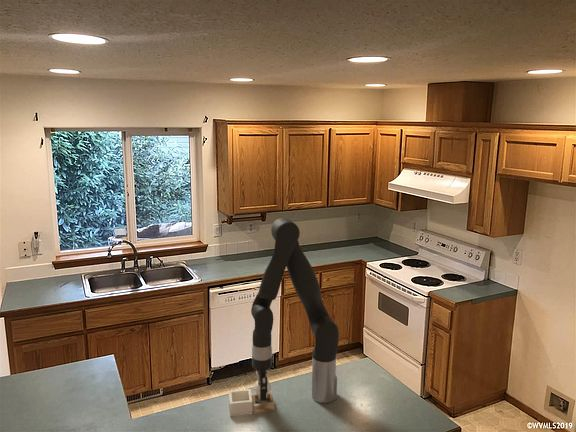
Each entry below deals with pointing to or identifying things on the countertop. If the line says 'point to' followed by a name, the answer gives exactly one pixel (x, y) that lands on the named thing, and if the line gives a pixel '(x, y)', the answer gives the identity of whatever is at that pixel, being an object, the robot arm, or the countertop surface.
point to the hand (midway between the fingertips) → (261, 393)
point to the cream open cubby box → (240, 402)
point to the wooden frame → (263, 404)
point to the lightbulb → (257, 390)
